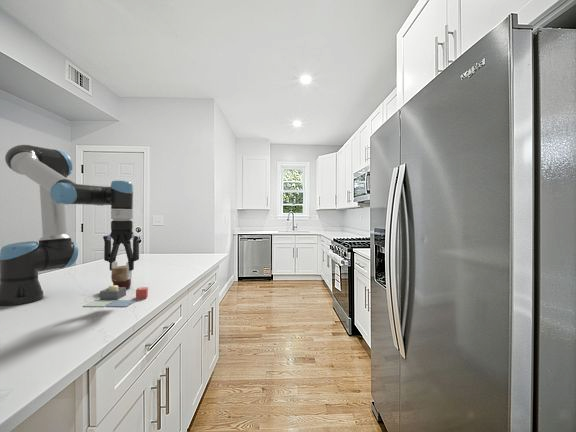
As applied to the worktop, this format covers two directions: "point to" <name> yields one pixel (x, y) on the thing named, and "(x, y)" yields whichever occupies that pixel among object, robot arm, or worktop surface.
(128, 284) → the mug
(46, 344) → the worktop surface
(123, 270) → the tan wooden cuboid
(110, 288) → the button
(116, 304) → the tile
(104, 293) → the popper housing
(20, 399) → the worktop surface
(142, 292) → the die
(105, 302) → the tile
